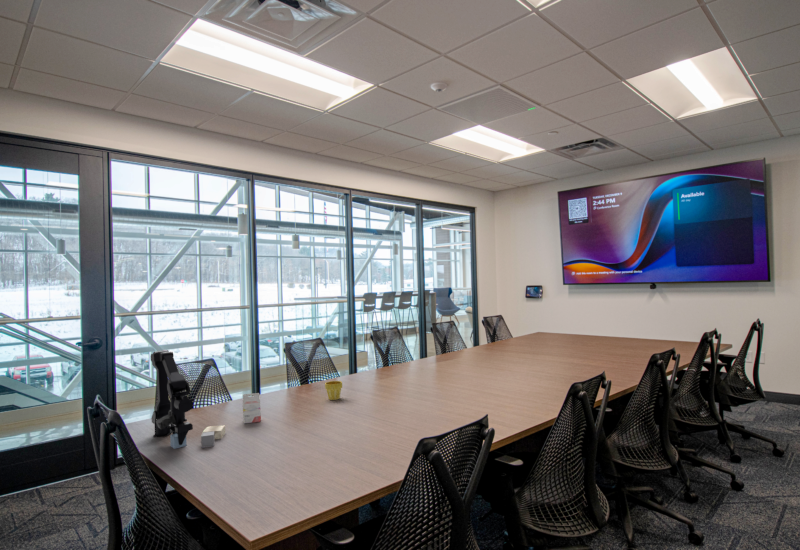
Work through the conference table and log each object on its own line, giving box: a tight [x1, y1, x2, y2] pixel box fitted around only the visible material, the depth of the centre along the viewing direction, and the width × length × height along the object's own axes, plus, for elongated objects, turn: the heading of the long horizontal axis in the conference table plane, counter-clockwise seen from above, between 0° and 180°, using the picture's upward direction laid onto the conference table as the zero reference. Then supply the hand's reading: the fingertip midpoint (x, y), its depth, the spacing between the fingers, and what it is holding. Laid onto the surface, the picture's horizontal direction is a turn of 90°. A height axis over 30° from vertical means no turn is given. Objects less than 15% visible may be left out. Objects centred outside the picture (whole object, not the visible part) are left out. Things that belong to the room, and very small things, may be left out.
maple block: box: [202, 425, 226, 440], centre depth 207 cm, size 8×8×4 cm
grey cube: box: [200, 431, 216, 448], centre depth 196 cm, size 5×5×5 cm
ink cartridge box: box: [242, 392, 262, 424], centre depth 229 cm, size 9×5×15 cm, turn 105°
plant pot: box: [324, 380, 343, 401], centre depth 270 cm, size 10×10×10 cm
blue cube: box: [169, 433, 188, 450], centre depth 196 cm, size 5×5×5 cm
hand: (178, 443), depth 196 cm, fingers open, 5 cm apart
